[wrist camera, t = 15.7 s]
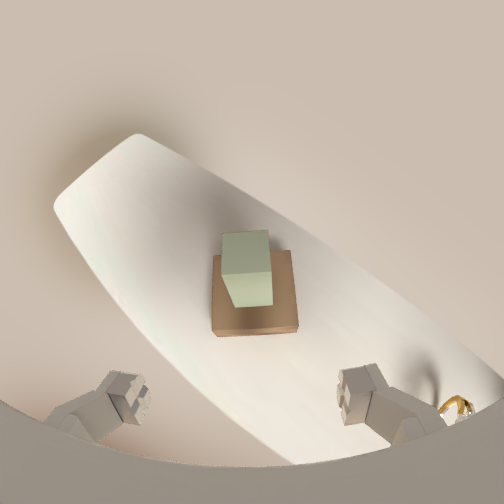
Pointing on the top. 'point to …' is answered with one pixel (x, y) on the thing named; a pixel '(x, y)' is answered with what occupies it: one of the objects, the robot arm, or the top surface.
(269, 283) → the block
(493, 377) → the top surface
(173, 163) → the top surface
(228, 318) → the plinth
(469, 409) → the ring
